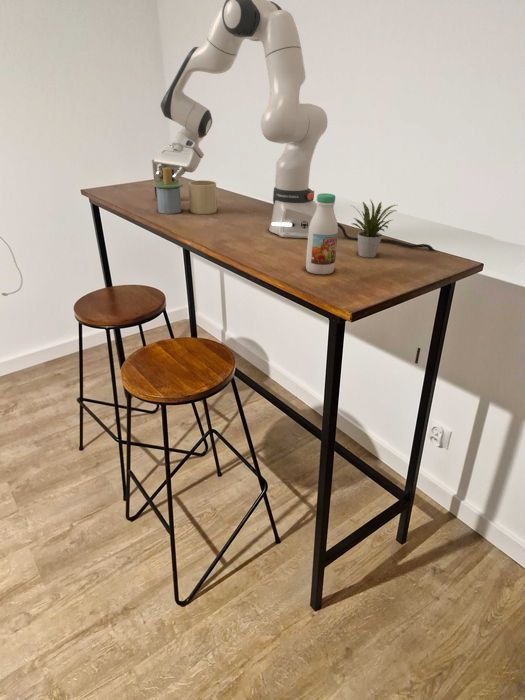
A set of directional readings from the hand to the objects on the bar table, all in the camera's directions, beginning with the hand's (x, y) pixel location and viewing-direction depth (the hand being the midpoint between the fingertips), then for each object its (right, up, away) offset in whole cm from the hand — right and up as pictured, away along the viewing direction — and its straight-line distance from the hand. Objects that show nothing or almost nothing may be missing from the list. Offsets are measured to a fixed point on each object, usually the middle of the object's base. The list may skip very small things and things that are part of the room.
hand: (166, 177), depth 178 cm
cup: (0, -11, +7) cm, 13 cm away
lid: (0, -2, +2) cm, 3 cm away
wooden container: (+13, -10, +8) cm, 18 cm away
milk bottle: (+52, -43, -48) cm, 83 cm away
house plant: (+69, -37, -36) cm, 86 cm away
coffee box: (-5, 0, +26) cm, 26 cm away
